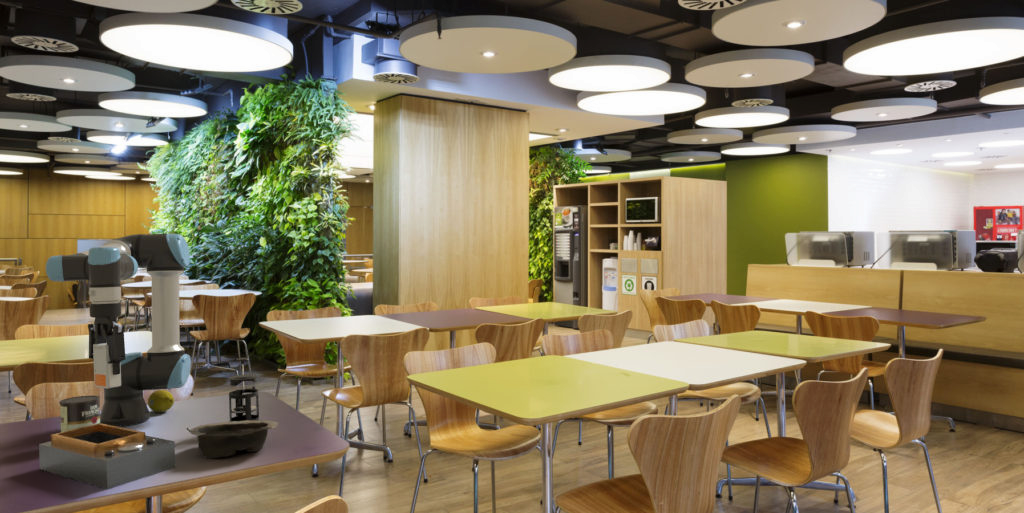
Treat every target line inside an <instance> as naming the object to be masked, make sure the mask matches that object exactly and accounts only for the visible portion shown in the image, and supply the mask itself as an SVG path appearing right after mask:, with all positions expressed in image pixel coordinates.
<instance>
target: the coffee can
mask: <svg viewBox="0 0 1024 513" xmlns="http://www.w3.org/2000/svg"><path fill="white" fill-rule="evenodd" d="M100 399H101V397H100V396H99V395H78V396H74V397H73V396H72V397H68V398H65V399H61V400H60V401H59V407H60V408H59V409H60V410H59V411H60V433H61V432H65V431H69V430H73V429H77V428H82V427H86V426H90V425H94V424H98V423H100V413H101V409H100V408H101V407H100Z"/></svg>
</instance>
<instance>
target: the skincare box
mask: <svg viewBox="0 0 1024 513" xmlns="http://www.w3.org/2000/svg"><path fill="white" fill-rule="evenodd" d="M93 357H94V361H93V380H94V381H93V383H94V384H93V385H94V388H101V389H104V388H106V389H108V388H113V387H109V371H108V362H109V361H110V357H109V346H108V345H107V343H103V344H94V345H93ZM120 386H121V363H120ZM115 387H118V386H115Z"/></svg>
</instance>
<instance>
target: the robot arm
mask: <svg viewBox="0 0 1024 513" xmlns="http://www.w3.org/2000/svg"><path fill="white" fill-rule="evenodd" d="M190 257H191V256H190V248H189V244H188V242H187V240H186V239H185V238H184V236H183V235H181V234H178V233H169V232H168V233H145V234H143V233H142V234H141V233H138V234H137V233H136V234H130V235H126V236H125V235H124V236H122V237H121V236H120V237H118V238H114V239H111V240H107V241H106V242H105V243H103V244H102V245H100V246H97V247H90V248H89V249H87V250H83V251H79V252H77V253H73V254H68V255H67V254H66V255H63V254H59V255H52V256H50V257H48V259H47V261H46V263H45V273H46V275H47V278H48V279H49V280H50V281H52V282H62V283H63V282H77V281H78V282H81V281H82V282H84V281H88V284H89V285H88V286H89V287H88V288H89V291H88V295H89V302H90V303H91V304H90V303H89V317H91V318H94V321H93V323H89V324H88V325H87V329H88V359H92V362H94V357H93V345H94V344H103V343H107V345H108V346H109V357H110V361H109V362H108V371H109V387H113V388H108V389H106V388H103V397H104V398H103V404H102V408H101V409H100V423H102V424H106V425H111V426H116V427H121V428H122V427H126V426H127V427H128V426H133V425H137V424H142V423H144V422H147V421H148V420H150V418H151V417H150V416H151V415H150V410H149V408H148V404H147V402H146V401H145V399H144V391H157V390H167V391H168V390H169V391H170V390H171V389H173V390H174V389H180V388H183V386H185V385H186V383H187V382H188V379H189V377H190V373H191V367H192V366H191V365H192V361H191V356H190V355H189V354H187V353H185V352H186V351H185V348H184V347H183V346H181V344H180V335H181V334H180V277H181V275H182V274H183V273H184V272H185V268H186V267H188V266H189V265H190V259H191V258H190ZM139 268H146V274H147V275H149V276H150V277H151V347H150V348H149V349H148V350H147V351H146V356H143V353H142V351H136V352H129V353H126V347H125V343H126V342H125V329H126V328H125V325H126V324H122V323H121V324H119V322H118V319H117V317H119V316H121V315H122V303H121V302H120V301H121V300H122V290H121V288H122V287H121V281H127V280H129V279H131V278H133V277H134V276H136V274H137V272H138V270H139ZM120 363H121V386H120ZM115 386H118V387H115Z"/></svg>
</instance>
